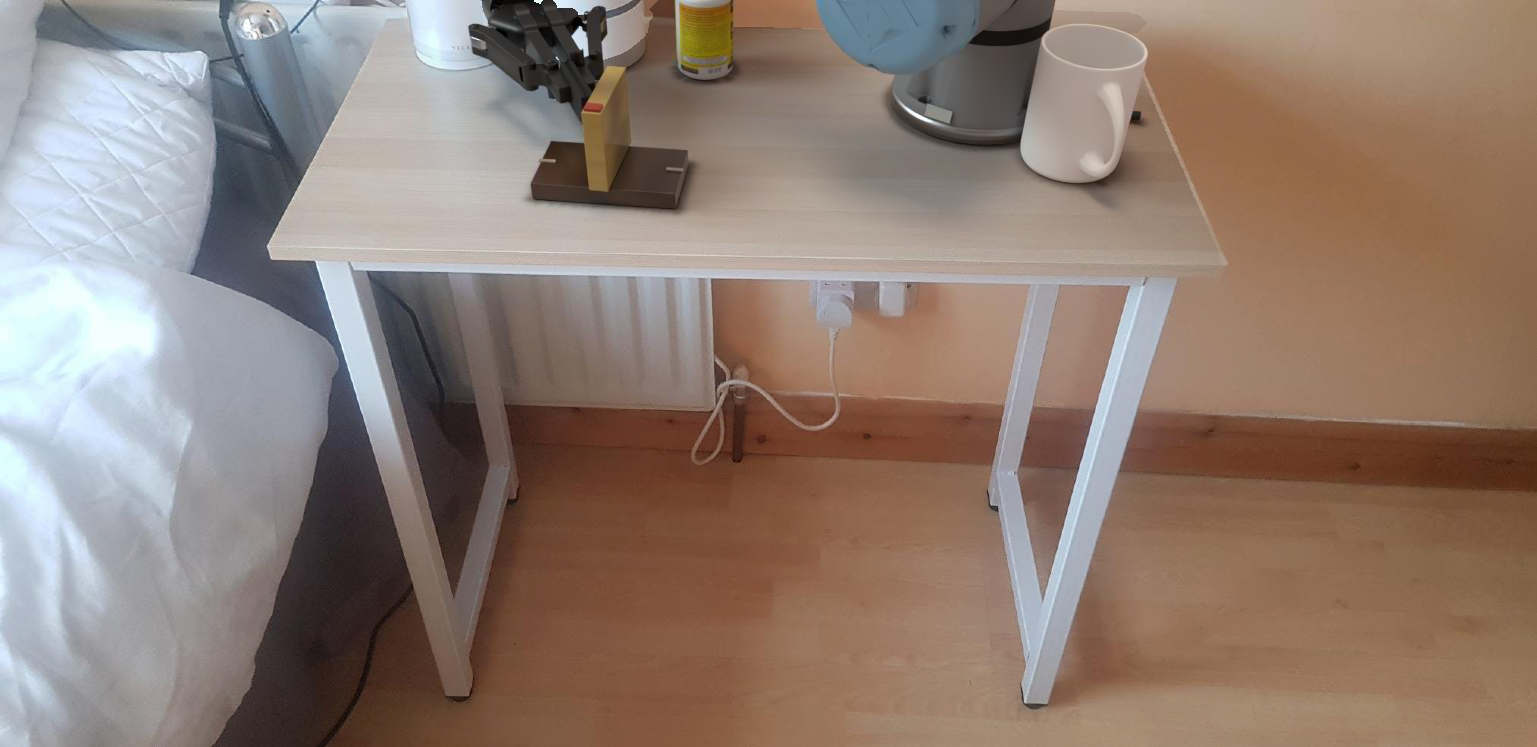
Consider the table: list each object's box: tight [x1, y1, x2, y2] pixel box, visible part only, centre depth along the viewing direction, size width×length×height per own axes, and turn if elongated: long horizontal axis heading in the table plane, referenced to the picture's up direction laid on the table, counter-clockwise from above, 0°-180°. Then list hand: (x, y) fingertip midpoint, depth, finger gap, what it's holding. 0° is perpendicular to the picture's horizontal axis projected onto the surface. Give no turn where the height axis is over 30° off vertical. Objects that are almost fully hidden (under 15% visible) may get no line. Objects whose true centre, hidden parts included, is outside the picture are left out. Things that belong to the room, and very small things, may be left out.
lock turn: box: [581, 65, 632, 192], centre depth 88 cm, size 8×2×7 cm, turn 172°
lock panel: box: [530, 140, 689, 210], centre depth 91 cm, size 12×7×2 cm, turn 85°
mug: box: [1020, 23, 1149, 184], centre depth 91 cm, size 9×12×11 cm
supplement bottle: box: [674, 0, 734, 81], centre depth 104 cm, size 6×6×10 cm
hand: (589, 112), depth 88 cm, fingers closed
